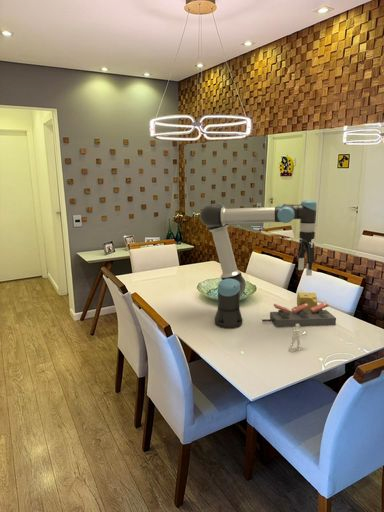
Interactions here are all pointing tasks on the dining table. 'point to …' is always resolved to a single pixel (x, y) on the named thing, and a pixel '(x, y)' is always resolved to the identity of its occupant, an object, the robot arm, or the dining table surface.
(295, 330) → the figurine
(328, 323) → the power strip
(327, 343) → the dining table surface
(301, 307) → the rocker
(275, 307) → the rocker
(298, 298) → the cheese
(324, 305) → the rocker
